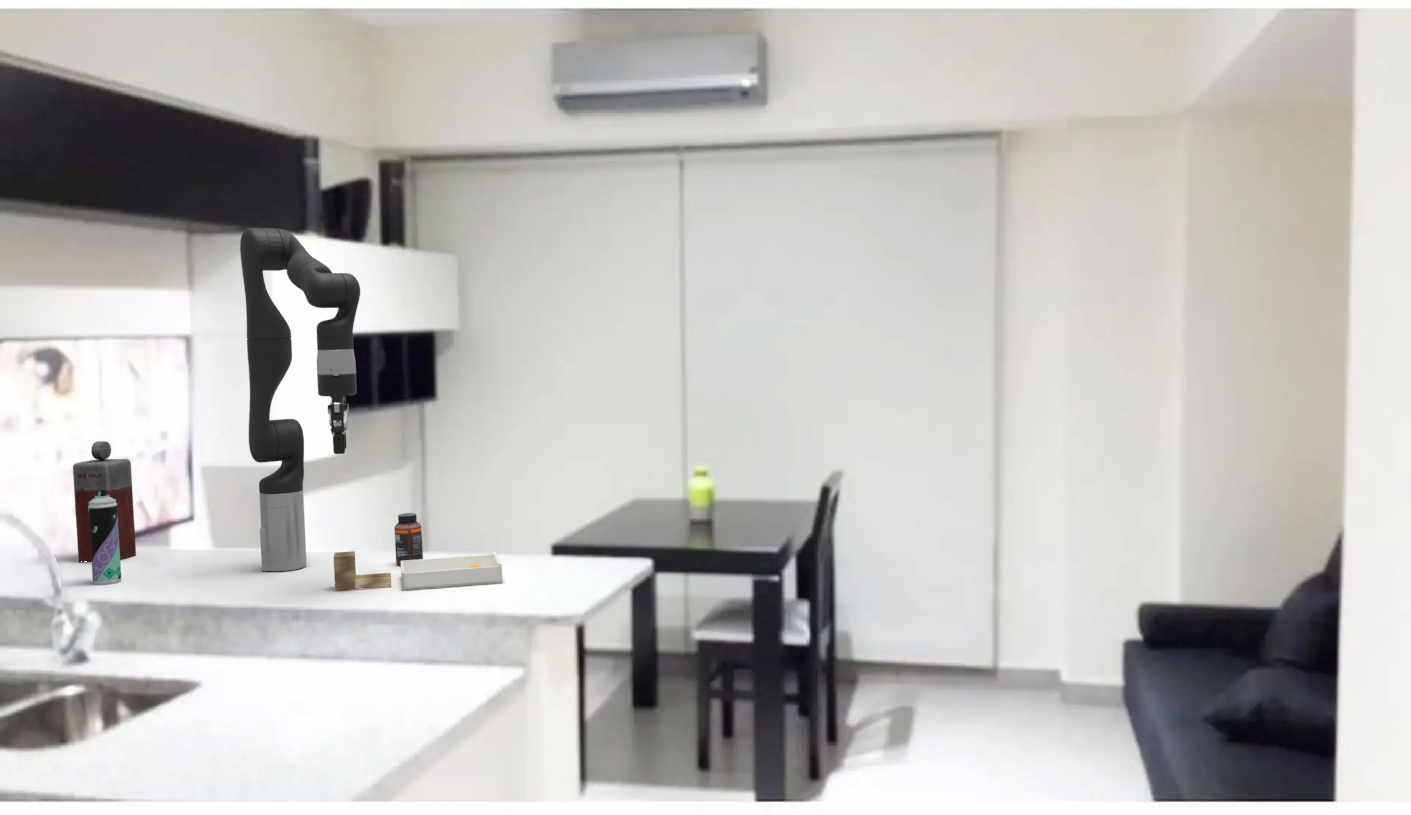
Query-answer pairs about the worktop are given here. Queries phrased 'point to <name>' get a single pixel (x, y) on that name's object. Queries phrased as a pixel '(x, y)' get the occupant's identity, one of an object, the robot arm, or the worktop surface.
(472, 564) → the ball
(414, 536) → the supplement bottle
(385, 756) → the worktop surface
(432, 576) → the tray
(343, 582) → the scoop
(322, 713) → the worktop surface
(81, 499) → the red and grey canister
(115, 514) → the spray can
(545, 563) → the worktop surface
